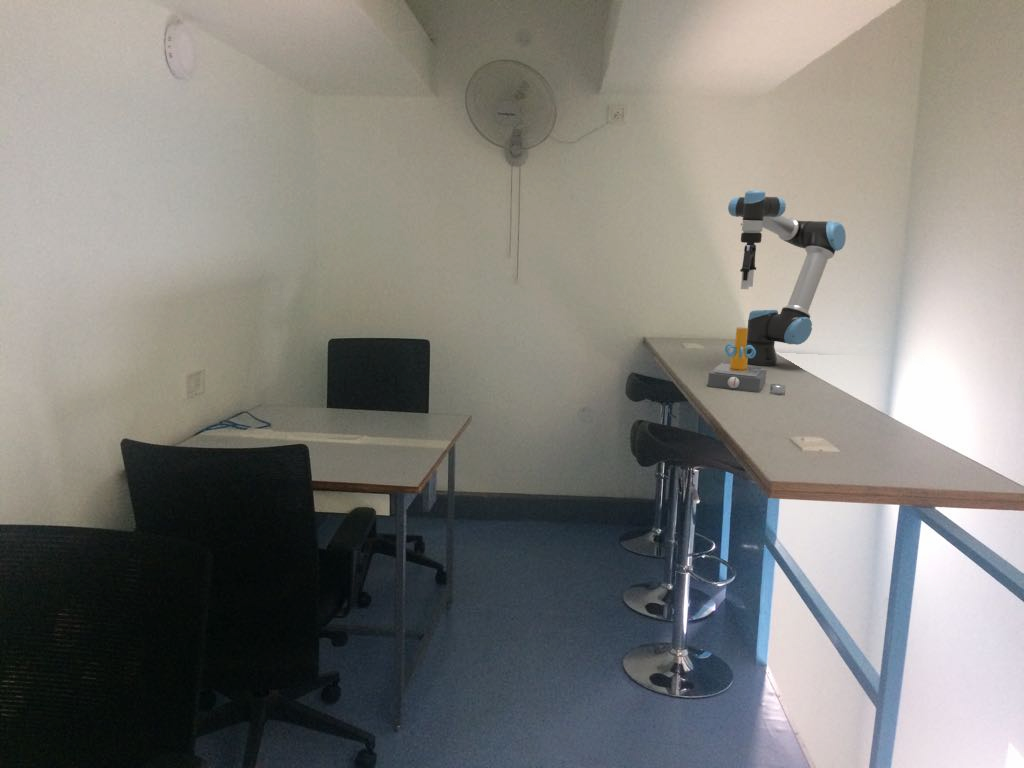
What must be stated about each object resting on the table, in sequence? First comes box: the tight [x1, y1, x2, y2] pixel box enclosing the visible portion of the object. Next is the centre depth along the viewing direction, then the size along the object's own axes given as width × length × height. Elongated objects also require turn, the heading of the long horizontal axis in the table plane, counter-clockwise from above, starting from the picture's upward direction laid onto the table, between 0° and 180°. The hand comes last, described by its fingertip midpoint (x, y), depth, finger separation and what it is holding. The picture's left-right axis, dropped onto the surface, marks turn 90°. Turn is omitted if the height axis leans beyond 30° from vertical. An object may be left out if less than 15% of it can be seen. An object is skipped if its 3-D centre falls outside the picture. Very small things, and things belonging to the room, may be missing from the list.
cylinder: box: [724, 326, 756, 370], centre depth 274 cm, size 12×10×15 cm
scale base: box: [707, 364, 767, 393], centre depth 277 cm, size 19×18×5 cm
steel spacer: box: [769, 383, 787, 396], centre depth 265 cm, size 5×5×3 cm
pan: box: [713, 362, 763, 377], centre depth 277 cm, size 15×15×5 cm
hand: (746, 287), depth 291 cm, fingers open, 13 cm apart
